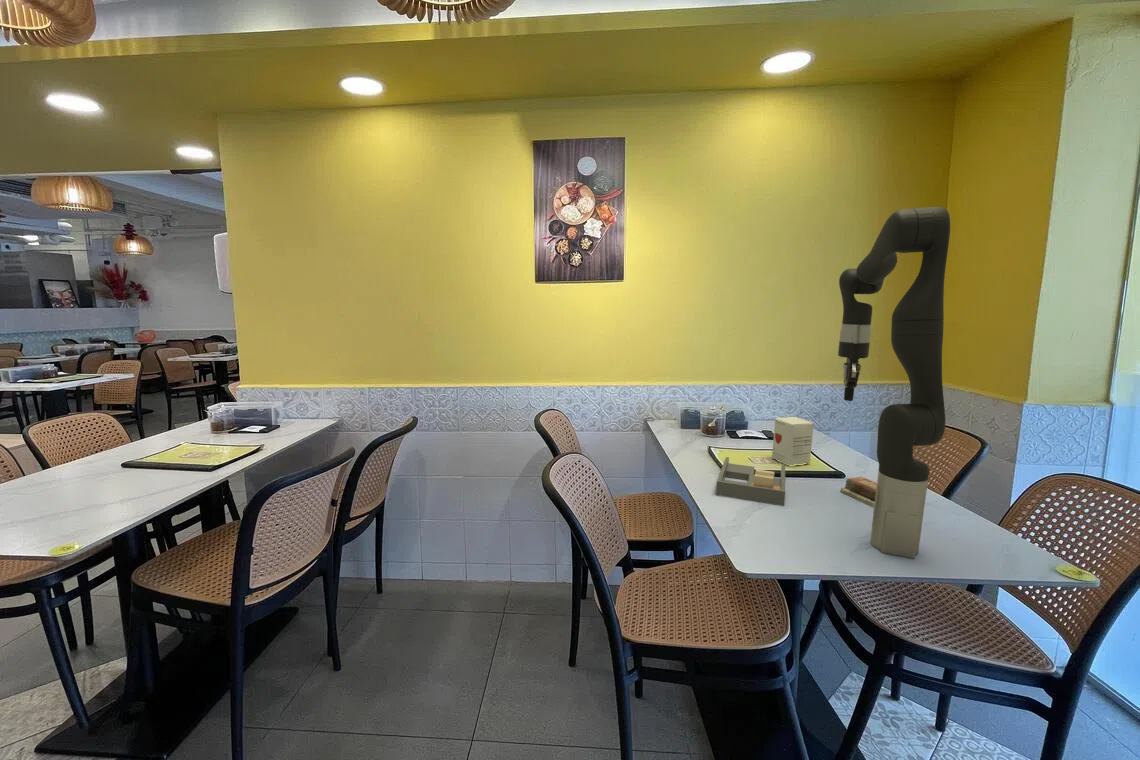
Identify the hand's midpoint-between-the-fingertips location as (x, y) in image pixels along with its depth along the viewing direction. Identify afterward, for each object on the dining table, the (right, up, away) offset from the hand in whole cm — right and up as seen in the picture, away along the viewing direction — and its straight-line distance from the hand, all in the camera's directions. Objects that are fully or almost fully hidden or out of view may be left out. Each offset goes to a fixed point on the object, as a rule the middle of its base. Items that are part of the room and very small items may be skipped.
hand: (848, 400), depth 141 cm
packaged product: (+6, -29, -4) cm, 30 cm away
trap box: (-25, -26, +7) cm, 37 cm away
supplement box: (-4, -23, +29) cm, 37 cm away
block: (-25, -25, 0) cm, 35 cm away
